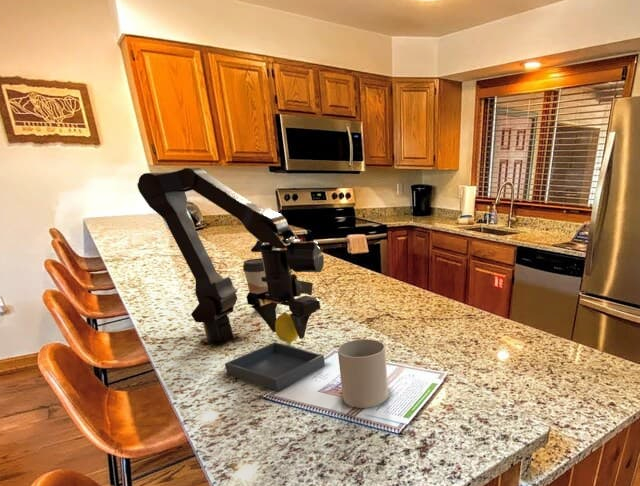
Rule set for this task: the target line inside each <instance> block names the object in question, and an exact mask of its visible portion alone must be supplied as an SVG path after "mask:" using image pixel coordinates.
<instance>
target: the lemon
mask: <svg viewBox="0 0 640 486" xmlns="http://www.w3.org/2000/svg"><path fill="white" fill-rule="evenodd" d="M290 314H291V313H288V312H286V311H284V312H282V313H281V314H279V315H278V316H277V317H276V322H275V330H276V332H275V334H276V336H277V337H278V339H280V341H283V342H285V343H288V344H292V343H293V341H295V340H297V338H299V336H298V334H297V332H296V329H295V327H294V324H293V322H292V319H291V317H290Z"/></svg>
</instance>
